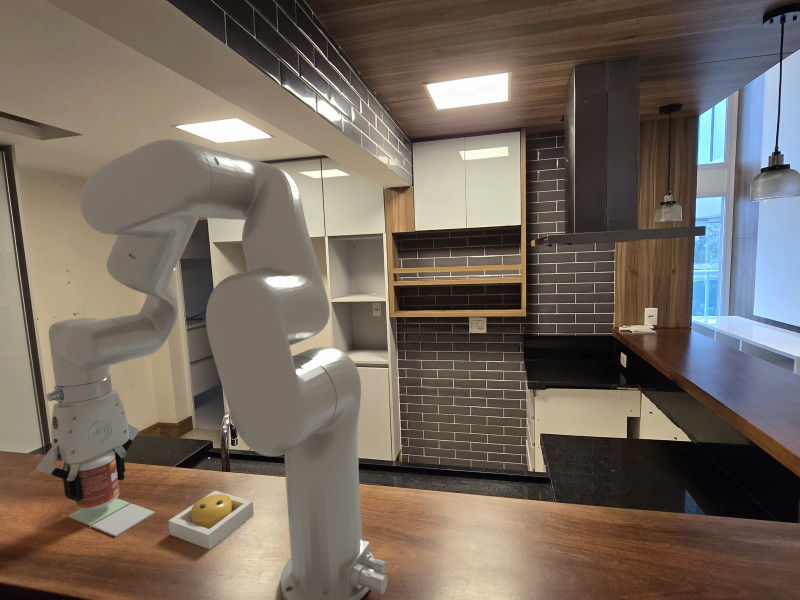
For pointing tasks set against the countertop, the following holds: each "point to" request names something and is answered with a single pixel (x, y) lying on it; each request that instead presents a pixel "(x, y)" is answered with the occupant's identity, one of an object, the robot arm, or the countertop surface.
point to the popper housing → (210, 537)
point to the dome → (211, 510)
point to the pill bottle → (98, 481)
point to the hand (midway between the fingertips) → (97, 487)
